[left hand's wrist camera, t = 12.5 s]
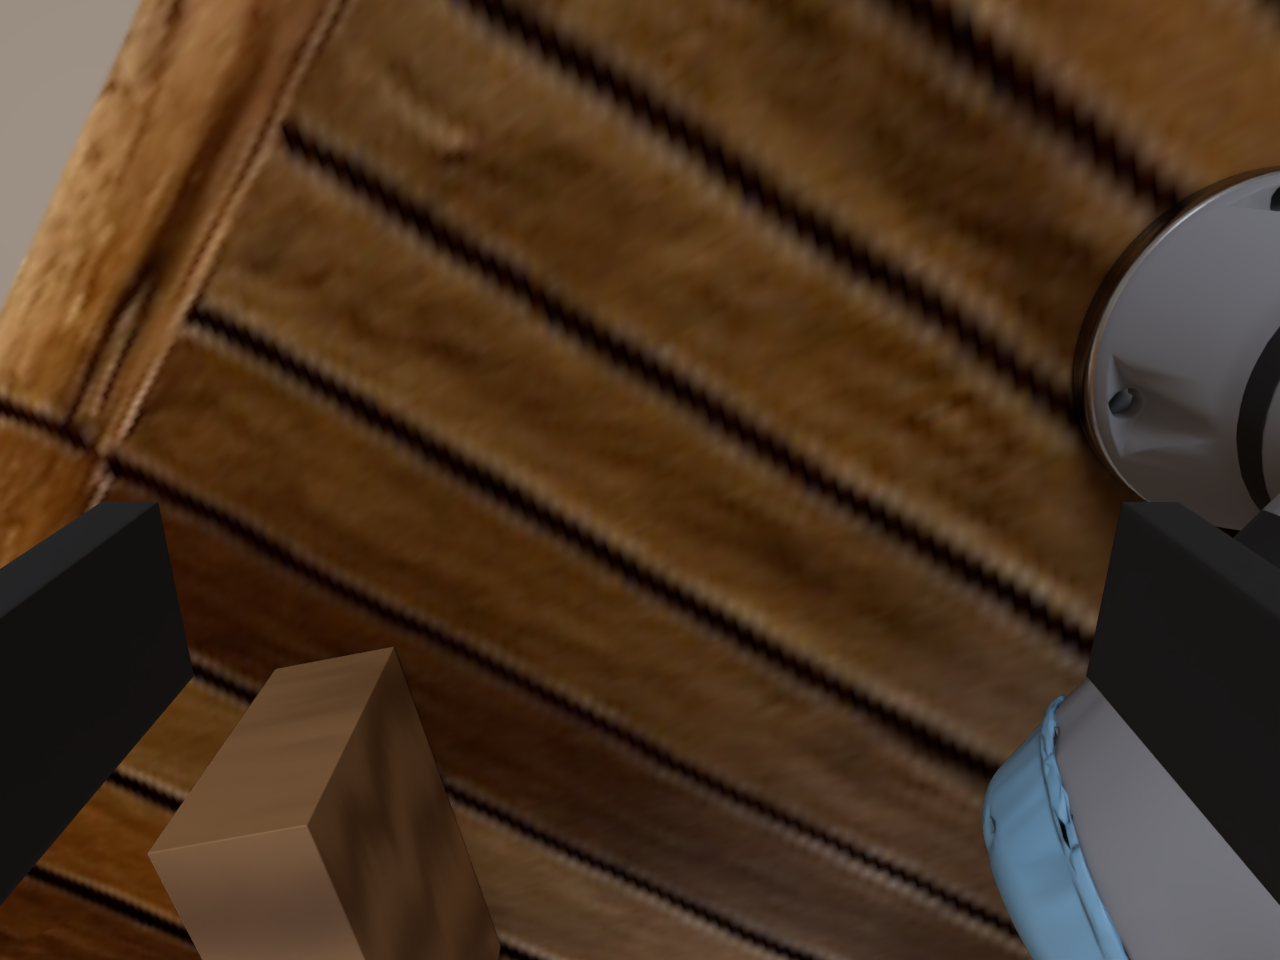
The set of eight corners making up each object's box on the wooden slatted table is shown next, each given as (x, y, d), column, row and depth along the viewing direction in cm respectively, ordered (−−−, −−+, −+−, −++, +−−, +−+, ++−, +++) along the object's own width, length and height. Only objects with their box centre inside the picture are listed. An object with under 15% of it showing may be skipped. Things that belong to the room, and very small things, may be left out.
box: (275, 668, 45) (146, 853, 33) (394, 645, 44) (306, 825, 33) (397, 962, 52) (326, 1201, 40) (501, 945, 51) (460, 1181, 39)
